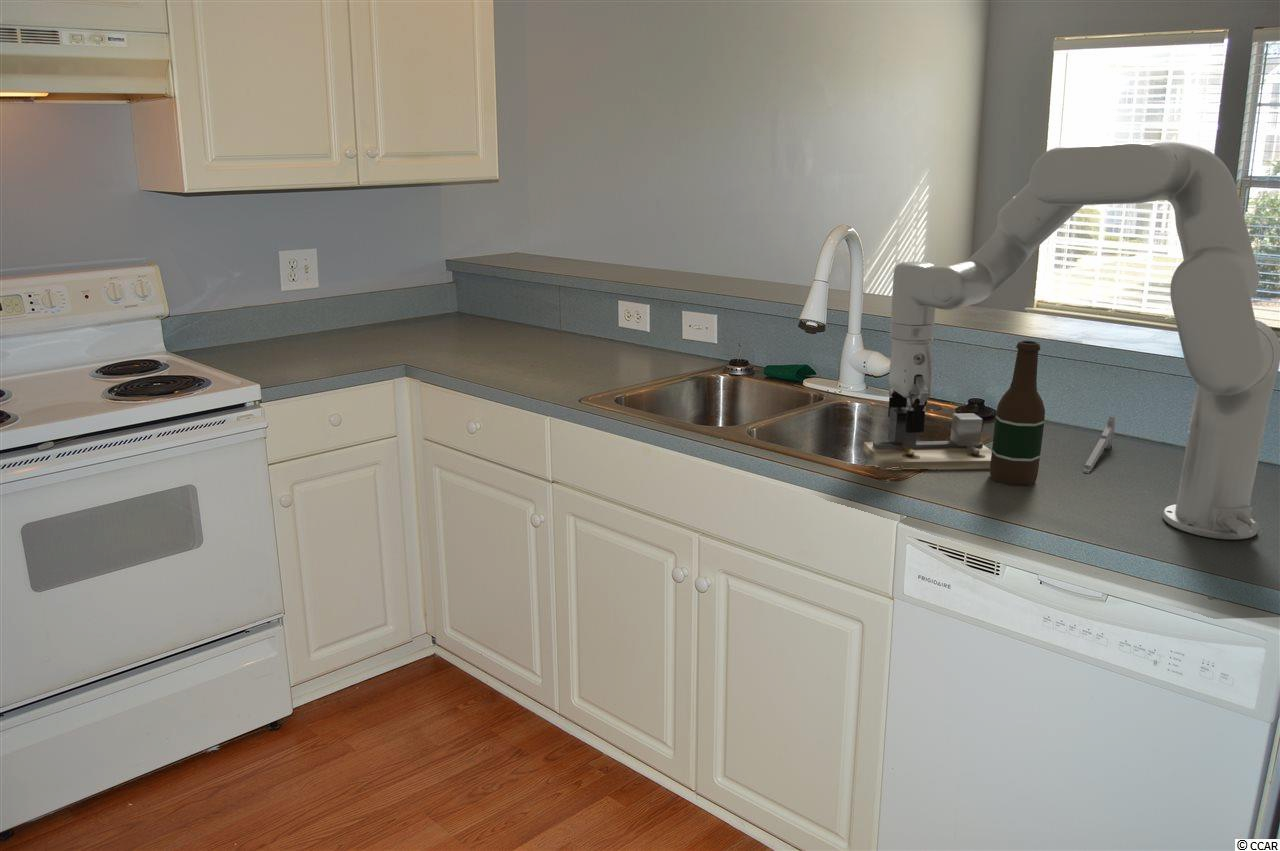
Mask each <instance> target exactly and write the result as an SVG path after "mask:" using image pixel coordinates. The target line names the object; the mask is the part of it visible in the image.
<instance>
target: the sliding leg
mask: <svg viewBox="0 0 1280 851" xmlns="http://www.w3.org/2000/svg"><path fill="white" fill-rule="evenodd" d="M907 410H909V407H907V406H906V407H890V416H889V417H888V419H889V420H888V428H887V429H888V430H887V440H889V442H892V443H893V444H894V445H903V448H904V449H905V450H906V451H907V452H908V455H910V456H914V450H913V449H911V448H910V447H909V446H908V445H916V441H917V436H918V435H917V434H918V432H916V433H907V432H906V431H905V427H906V412H907Z"/></svg>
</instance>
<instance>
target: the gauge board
mask: <svg viewBox="0 0 1280 851" xmlns="http://www.w3.org/2000/svg"><path fill="white" fill-rule="evenodd" d="M983 421H984V420H983V418H981V417H980V416H979V415H978V414H975V413H974V412H973V413H971V412H970V413H969V412H967V413H952V420H951V430H950V440H933V441H931V440H930V441H929V440H926V441H922V440H921V441H920V440H919V441H917V440H916V445H908V446H909V447H910V448H911V449H913V450H914V456H910V455H908V452H907V451H906V450H905V449H904V448H903V445H894V444H893V443H892V442H891V441H863V447H862V450H863V451H864V453H865V454H866V455H867V456H868V457H870V459H871V460H872V461H873V462H874V463H875V464H876V465H877V466H878V467H879V468H880V469H881V468H882V469H881V470H882V471H894V470H893V469H903V468H917V469H929V470H930V469H931V470H935V471H937V470H990V463H991V454H992V449H991V448H989V447H987V446H986V445H985V444H983V443H982V442H981V437H982V427H983ZM902 466H903V467H902ZM892 467H899V468H892ZM886 468H892V469H886ZM936 469H937V470H936Z"/></svg>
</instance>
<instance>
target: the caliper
mask: <svg viewBox="0 0 1280 851" xmlns="http://www.w3.org/2000/svg"><path fill="white" fill-rule="evenodd" d="M1115 428H1116V417H1114V416H1109V418H1108V419H1107V425H1106V426H1105V428H1104V429H1103V431H1102V433H1101V434H1100V435H1101V436H1100V438H1099V440H1098V442H1097V443H1096V445H1095V446H1094V449H1093V450H1092V452H1091V453H1090V456H1089V458H1088V459H1087V460H1086V463H1085V464H1084V468H1083V470H1082V473H1084V474H1090V472H1092V470H1093V468H1094V467H1095V465H1096V464H1097V461H1099V460H1098V459H1099V458H1100V456H1101V455H1102V452H1103V451H1104V449H1107V450H1110V449H1111V447H1110V446H1112V447H1113V442H1114V436H1115V435H1114V434H1115Z"/></svg>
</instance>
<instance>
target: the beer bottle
mask: <svg viewBox="0 0 1280 851" xmlns="http://www.w3.org/2000/svg"><path fill="white" fill-rule="evenodd" d="M1016 349H1017V351H1016V352H1017V353H1016V359H1015V363H1014V364H1015V365H1014V369H1013V375H1012V380H1011V382H1010V386H1009V388H1008V389H1007V390H1006V391H1005V392H1004V394H1003V395H1002V396H1001V398H1000V400H999V402H998V404H997V408H996V411H995V412H996V413H995V419H994V420H995V421H994V428H993V438H992V447H991V451H992V454H991V463H990V469H989V475H990V477H991V478H992V479H993V480H994V481H995V482H996V483H1000V484H1004V485H1007V486H1014V487H1016V486H1017V487H1018V486H1019V487H1027V486H1030V485H1033V484H1034V483H1036V482H1037V478H1038V474H1039V470H1040V469H1039V467H1040V460H1041V452H1042V444H1043V437H1044V436H1043V435H1044V428H1045V421H1046V420H1045V418H1046V416H1045V415H1046V410H1045V405H1044V401H1043V399H1042V397H1041V396H1040V394H1039V392H1038V384H1037V381H1038V380H1037V378H1038V365H1039V364H1038V361H1039V360H1038V359H1039V351H1041V344H1040V343H1039V342H1036V341H1033V340H1022V341H1018V342H1017V344H1016Z"/></svg>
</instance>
